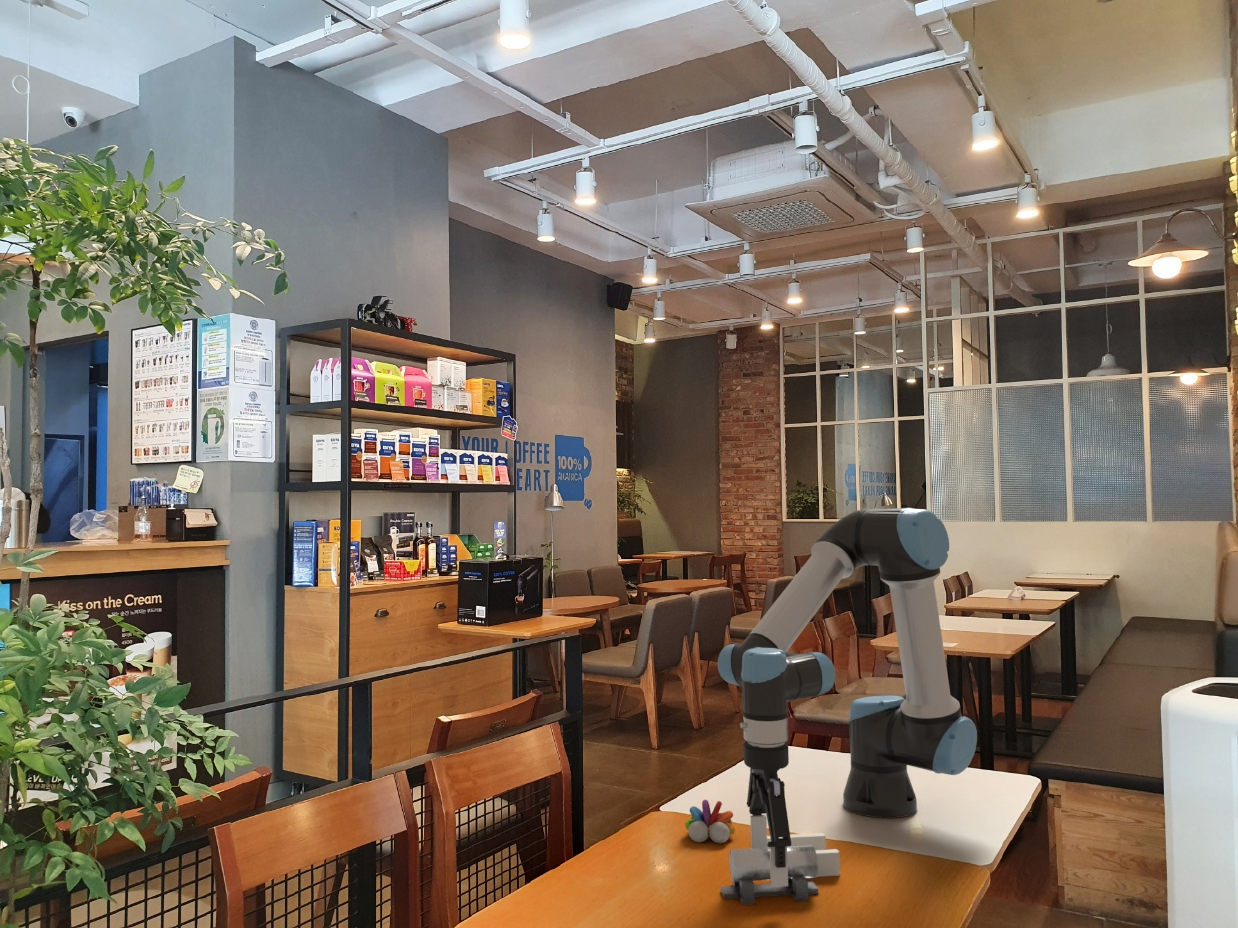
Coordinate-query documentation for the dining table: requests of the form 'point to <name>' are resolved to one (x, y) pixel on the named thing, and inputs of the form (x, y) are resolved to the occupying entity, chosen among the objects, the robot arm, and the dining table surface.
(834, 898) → the dining table surface
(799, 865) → the axle
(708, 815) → the rainbow petal fan toy
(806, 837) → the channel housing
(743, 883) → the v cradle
